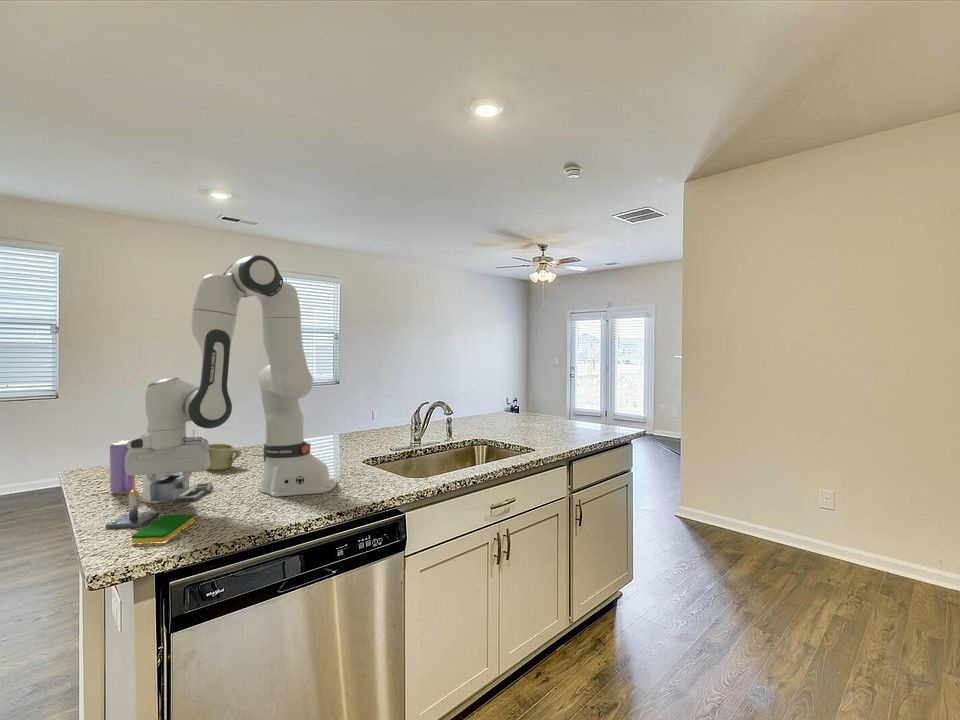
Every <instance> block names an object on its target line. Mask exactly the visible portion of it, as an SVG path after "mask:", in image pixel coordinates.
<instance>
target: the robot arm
mask: <svg viewBox="0 0 960 720" xmlns="http://www.w3.org/2000/svg"><path fill="white" fill-rule="evenodd" d="M253 296H256V298H257V299H258V300H259V302H260V304H261V308H262V309H261V310H262V311H261V318H262V340H263V341H262V342H263V343H262V344H263V346H264V348H265V351H266V355H267V358H268V362H269V364H267V365H266V366H265V367H263V368H262V369H261V370H260V371H259V373H258V377H257V382H258V386H259V390H260V395H261V402H262V407H263V413H264V420H265V421H264V423H265V425H264V427H265V429H264V430H265V431H264V433H265V434H264V435H265V440H264V441H265V443H264V444H263V462H264V468H263V475H262V478H261V479H262V481H261V485H260V488H259V492H261V493H264V494H268V495H270V496H271V497H275V498H276V497H285V496H287V497H289V496H299V495H300V496H301V495H313V494H324V493H325V494H326V493H328V492H330V491H332V490H333V489H335V487H336V486H337V480H336V478H334V477H330V472H329V468H328V466H327V464H326V463H325V462H324V461H322V460H320V459H319V458H318V457H316V456H314V455H313V454H312V453H311V446H312V445H311V442H306V440H305V441H304V439H305V438H304V434H305V433H304V414H303V412H302V410H301V407H300V403H299V399H302V398H304V397H306V396H307V395H308V394H310V392H311V391H312V389H313V385H314V379H313V376H312V374H311V372H310V370H309V367H308V362H307V359H306V356H305V355H306V354H305V351H304V346H303V338H302V337H303V336H302V334H303V333H302V319H301V317H302V315H301V306H300V300H299V296H298V292H297V289H296V287H295V286H293V285H292V284H290V283H287V282H285V281H284V279H283V277H282V275H281V273H280V271H279V269H278V267H277V264H275V262H274V261H273V260H272V259H270V258H269V257H267V256H264V255H261V254H252V255H249V256H245V257H243V258H240V259H239V260H237V261H236V262H234V263H233V264H231V265H230V266H229V267H228V268H227V269H226V271H225V272H224V273H223V274H221V273H211V274H207V275H204V276H203V277H202V278H201V280H200V281H199V284H198V287H197V289H196V294H195V296H194V301H193V304H192V312H191V313H192V314H191V333H192V336H193V338H195V340H196V342H197V344H198V345H199V347H200V350H201V354H202V355H201V356H202V361H201V370H200V379H199V382H200V383H199V385H196V384H193V383H190V382H187V381H185V380H183V379H181V378H180V377H175V376H174V377H173V376H171V377H166V378H161V379H157V380H153V381H152V382H150V383H149V384H148V385H147V387H146V390H145V399H144V400H145V402H144V403H145V404H144V406H145V408H144V409H145V415H146V417H147V426H146V433H144V434H142V435H140V436H138V437H137V436H136V437H135V438H132V439H130V440H127V441H128V442H127V448H128V449H129V450H128V451H127V453H126V456H125V471H126V473H127V474H128V475H135V476H143V475H147V479H148V481H149V482H150V483H151V484H152V483H154V482H156V481H157V480H156V478H155V476H156V474H166V473H180V474H183V476H185V478H184V480H183V481H181V482H180V483H179V488H180V489H186V488H187V487H188V480H189V481H190V478H191V476H192V475H193V473H199V472H201V473H202V472H205V471H208V470H207V469H208V468H209V467H210V465H211V463H210V456H209V451H208V450H209V445H210V443H209V441H208V440H207V439H206V438H203V437H202V436H196V437H194V436H193V437H192V436H191V437H189V436H188V437H187V425H186V423H188V422H192V423H194V424H195V425H196V426H197V427H200V428H203V429H215V428H218V427H221V426H222V425H223V424H225V423H226V422H227V421H228V420H229V418H230V417H231V414H232V412H233V406H232V405H233V404H232V401H231V397H230V395H229V392H228V391H229V390H228V380H229V379H228V377H229V369H230V368H229V366H230V365H229V364H230V354H231V347H232V342H233V338H234V333H235V330H236V329H235V327H236V323H237V315H238V307H239V304H240V301H241V300H242V298H247V297H248V298H249V297H253Z"/></svg>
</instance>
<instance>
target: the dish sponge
mask: <svg viewBox="0 0 960 720" xmlns="http://www.w3.org/2000/svg"><path fill="white" fill-rule="evenodd" d="M192 522H193V523H194V522H195V514H193V513H184V514H183V513H182V514H164V515H162V516H161V517H159V518H158V519H157V518H156V520H153V522H150V523H149V524H147V526H146V525H145V526H144V527H142V529H140V530H139V531H137V532H135V533H134V534H133V535H131V544H132V543H143V542H163V541H166V540H167V539H169V538H170V537H172V536H173V535H175V534H176V533H178V532H179V531H181V530H182V529H183V528H185V527H187V526H188V525H189V524H191V523H192ZM193 523H192V524H193ZM192 524H191V525H192ZM189 526H190V525H189ZM189 526H188V527H189ZM188 527H187V528H188ZM185 529H186V528H185ZM181 532H182V531H181Z"/></svg>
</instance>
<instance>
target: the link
mask: <svg viewBox="0 0 960 720" xmlns="http://www.w3.org/2000/svg"><path fill="white" fill-rule="evenodd" d="M184 478H185V476H183V473H180V474H178V475H167V476H165V477H163V478H162V479H160V480H158V481H156V482H154V483H152V484H151V485H150V497H151V502H152V501H166V502H170V501H169V500H172V501H174V500H175V499H177V498H178V497H179V496H181V495H183V494H184V493H186V492H188V491H189V490H190V479H189V480H188V487H187V488H186V489H180V488H179V483H180V482H181V481H183V480H184Z"/></svg>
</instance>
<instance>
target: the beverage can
mask: <svg viewBox="0 0 960 720" xmlns="http://www.w3.org/2000/svg"><path fill="white" fill-rule="evenodd" d="M128 441H129V440H119V441H113V442H111V443H110V446H109V475H110V476H109V483H110V487H109V488H110V493H111V494H112V495H124V494H129V493H130V492H131V491H135V488H136V475H128V474H127V473H126V471H125V456H126V453H127V451H128V450H129V449H128V448H127V442H128Z"/></svg>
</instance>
